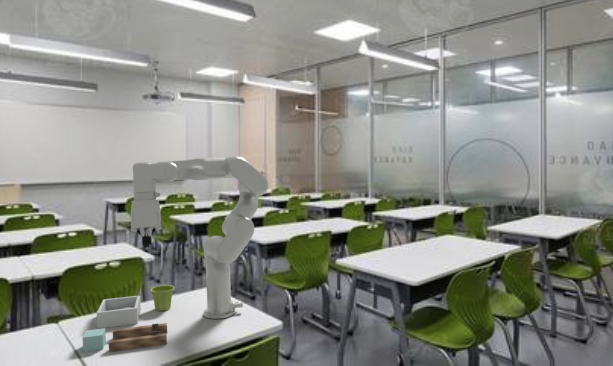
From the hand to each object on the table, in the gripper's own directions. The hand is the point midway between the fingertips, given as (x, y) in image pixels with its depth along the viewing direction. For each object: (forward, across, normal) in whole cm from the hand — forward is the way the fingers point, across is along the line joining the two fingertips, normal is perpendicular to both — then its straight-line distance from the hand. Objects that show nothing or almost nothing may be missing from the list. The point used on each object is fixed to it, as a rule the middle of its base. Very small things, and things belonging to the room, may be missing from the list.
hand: (147, 246), depth 154 cm
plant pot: (+31, -4, -22) cm, 38 cm away
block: (+31, +17, +9) cm, 37 cm away
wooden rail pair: (+31, +3, +9) cm, 33 cm away
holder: (+31, +12, -16) cm, 37 cm away
